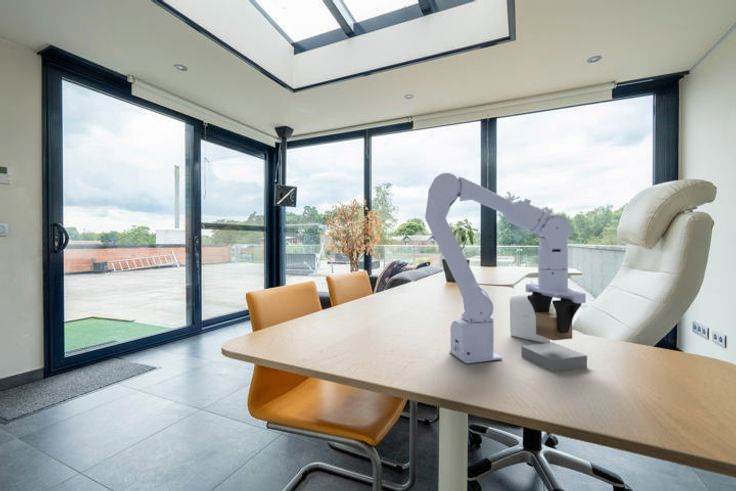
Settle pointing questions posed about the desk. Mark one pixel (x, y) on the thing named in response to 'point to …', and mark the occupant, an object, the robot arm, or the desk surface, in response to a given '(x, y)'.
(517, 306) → the photo printer
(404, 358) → the desk surface
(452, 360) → the desk surface
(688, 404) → the desk surface
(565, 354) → the base slab
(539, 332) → the walnut cube
